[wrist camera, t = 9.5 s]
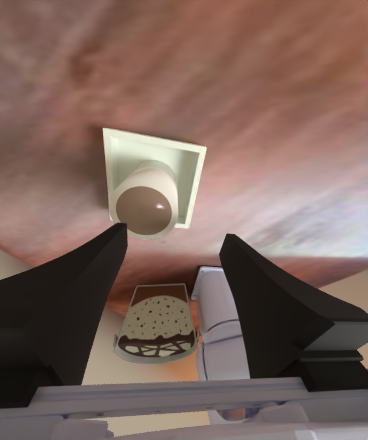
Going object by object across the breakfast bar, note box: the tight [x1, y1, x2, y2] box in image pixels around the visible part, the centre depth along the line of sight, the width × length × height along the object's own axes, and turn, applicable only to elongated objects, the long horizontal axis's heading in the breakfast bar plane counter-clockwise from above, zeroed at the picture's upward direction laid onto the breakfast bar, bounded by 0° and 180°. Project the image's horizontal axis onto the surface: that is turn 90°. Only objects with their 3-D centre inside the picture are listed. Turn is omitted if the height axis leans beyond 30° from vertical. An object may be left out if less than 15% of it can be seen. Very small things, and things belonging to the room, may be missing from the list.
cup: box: [109, 160, 178, 240], centre depth 15 cm, size 5×5×8 cm
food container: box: [113, 283, 199, 364], centre depth 26 cm, size 12×6×10 cm, turn 89°
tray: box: [103, 128, 207, 229], centre depth 18 cm, size 10×10×3 cm
